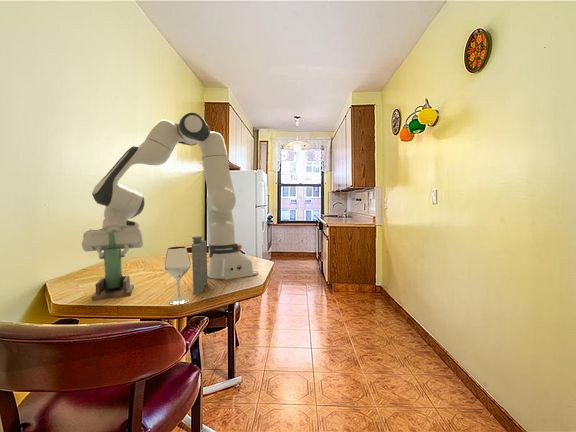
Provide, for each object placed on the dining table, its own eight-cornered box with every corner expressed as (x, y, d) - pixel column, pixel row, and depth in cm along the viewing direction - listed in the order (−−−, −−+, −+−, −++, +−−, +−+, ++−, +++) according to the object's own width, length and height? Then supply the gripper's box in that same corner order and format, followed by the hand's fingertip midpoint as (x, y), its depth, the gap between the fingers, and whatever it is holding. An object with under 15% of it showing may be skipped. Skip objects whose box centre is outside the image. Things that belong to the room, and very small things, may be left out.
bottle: (123, 283, 119) (120, 231, 118) (121, 287, 114) (118, 232, 113) (106, 285, 117) (104, 232, 116) (104, 289, 112) (101, 233, 111)
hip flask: (201, 294, 111) (199, 238, 110) (190, 294, 110) (188, 239, 110) (208, 283, 127) (206, 234, 126) (198, 283, 126) (196, 234, 125)
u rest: (133, 287, 123) (133, 274, 123) (130, 295, 112) (129, 281, 112) (98, 291, 119) (98, 277, 118) (91, 299, 107) (91, 285, 107)
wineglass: (183, 306, 98) (181, 249, 97) (160, 305, 99) (158, 249, 99) (196, 298, 106) (194, 246, 105) (174, 297, 107) (172, 246, 107)
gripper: (82, 224, 117) (77, 254, 108) (142, 222, 124) (141, 249, 116) (86, 235, 121) (81, 264, 112) (143, 232, 129) (143, 259, 120)
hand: (112, 257), depth 114 cm, fingers closed on bottle, 5 cm apart
